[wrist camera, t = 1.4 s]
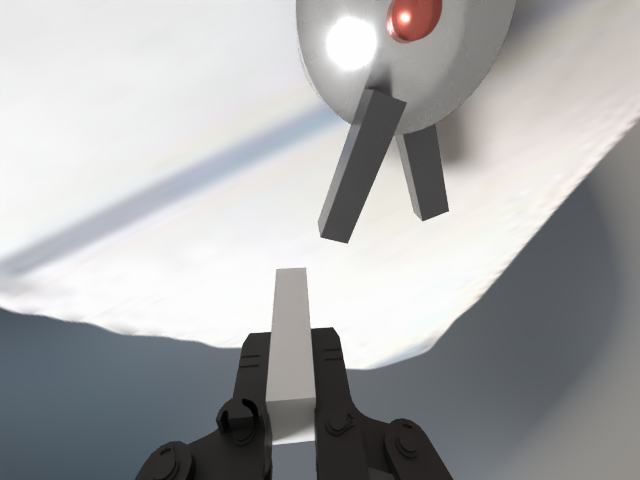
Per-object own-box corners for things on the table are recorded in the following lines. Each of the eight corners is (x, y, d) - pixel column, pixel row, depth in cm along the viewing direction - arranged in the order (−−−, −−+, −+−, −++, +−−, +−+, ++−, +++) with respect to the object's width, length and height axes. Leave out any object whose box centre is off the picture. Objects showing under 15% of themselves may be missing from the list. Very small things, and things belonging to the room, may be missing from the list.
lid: (338, -220, 14) (354, -318, 11) (557, -76, 18) (622, -114, 14) (252, 201, 26) (246, 220, 22) (395, 237, 29) (409, 257, 26)
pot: (250, -72, 23) (226, -162, 15) (414, -167, 22) (494, -332, 13) (354, 207, 38) (372, 244, 30) (457, 165, 36) (507, 191, 28)
